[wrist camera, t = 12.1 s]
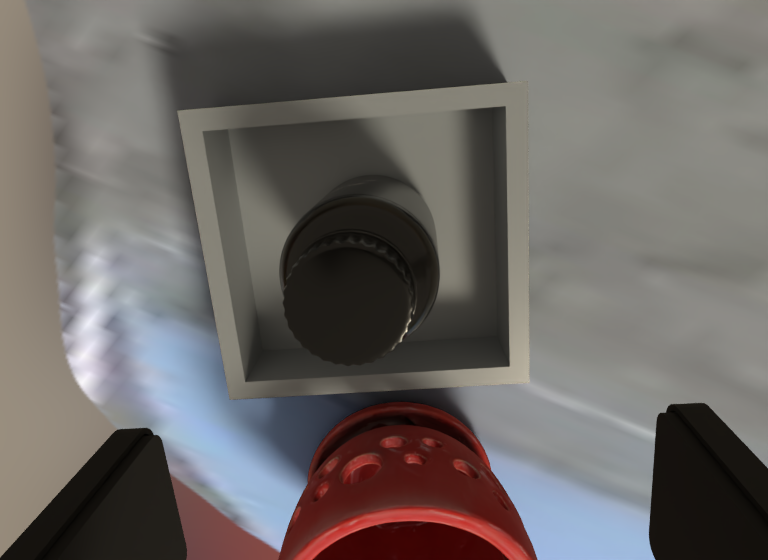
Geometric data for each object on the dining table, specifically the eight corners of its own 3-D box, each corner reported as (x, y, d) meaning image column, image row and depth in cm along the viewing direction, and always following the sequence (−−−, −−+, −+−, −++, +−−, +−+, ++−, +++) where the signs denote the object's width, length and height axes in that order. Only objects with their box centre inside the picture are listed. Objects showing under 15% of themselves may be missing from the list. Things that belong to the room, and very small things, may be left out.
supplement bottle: (344, 150, 30) (301, 173, 19) (457, 207, 31) (482, 263, 19) (293, 261, 32) (226, 343, 21) (400, 313, 33) (393, 421, 21)
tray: (508, 83, 30) (528, 80, 25) (511, 343, 34) (529, 382, 30) (211, 109, 31) (177, 110, 26) (253, 359, 35) (229, 399, 31)
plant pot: (398, 578, 40) (397, 768, 29) (266, 459, 38) (207, 615, 26) (546, 476, 37) (610, 642, 26) (415, 339, 35) (421, 456, 23)
